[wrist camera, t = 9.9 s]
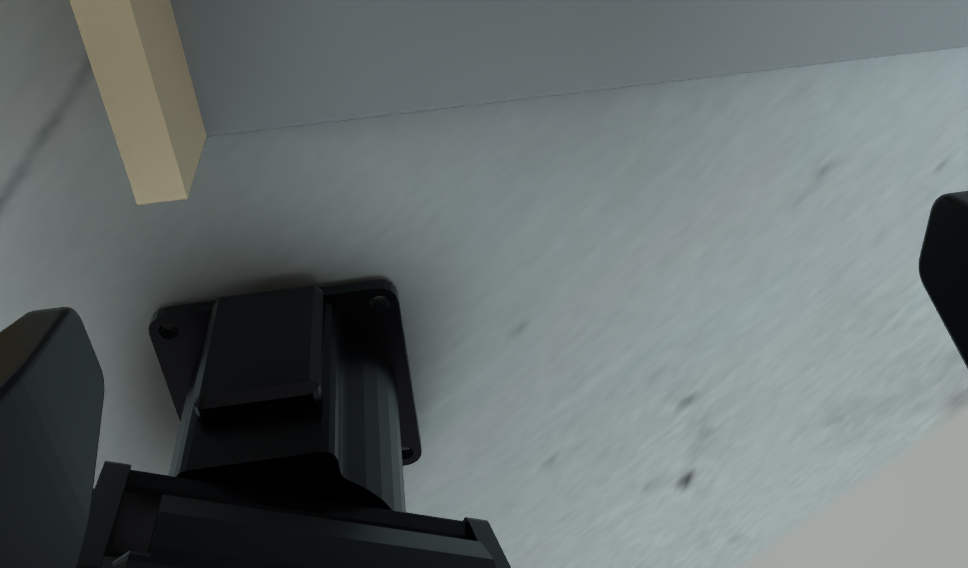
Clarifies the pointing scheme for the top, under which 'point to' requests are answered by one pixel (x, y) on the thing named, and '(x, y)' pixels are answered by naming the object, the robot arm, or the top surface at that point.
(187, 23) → the board
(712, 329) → the top surface
